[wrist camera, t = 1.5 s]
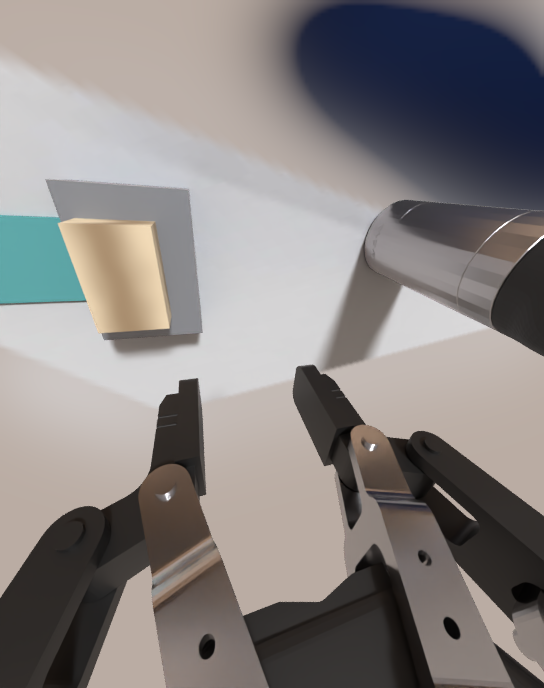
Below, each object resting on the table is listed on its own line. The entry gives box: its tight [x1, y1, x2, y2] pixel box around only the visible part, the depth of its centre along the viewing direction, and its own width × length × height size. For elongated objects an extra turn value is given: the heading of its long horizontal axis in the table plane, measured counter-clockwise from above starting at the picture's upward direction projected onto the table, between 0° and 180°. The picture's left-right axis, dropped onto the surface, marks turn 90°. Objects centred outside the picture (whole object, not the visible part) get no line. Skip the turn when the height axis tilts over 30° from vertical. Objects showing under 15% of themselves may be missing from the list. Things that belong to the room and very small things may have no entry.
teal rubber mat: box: [0, 215, 86, 304], centre depth 23 cm, size 10×8×1 cm
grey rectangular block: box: [45, 179, 203, 340], centre depth 24 cm, size 10×14×4 cm
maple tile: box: [58, 218, 171, 333], centre depth 21 cm, size 6×9×3 cm, turn 176°
